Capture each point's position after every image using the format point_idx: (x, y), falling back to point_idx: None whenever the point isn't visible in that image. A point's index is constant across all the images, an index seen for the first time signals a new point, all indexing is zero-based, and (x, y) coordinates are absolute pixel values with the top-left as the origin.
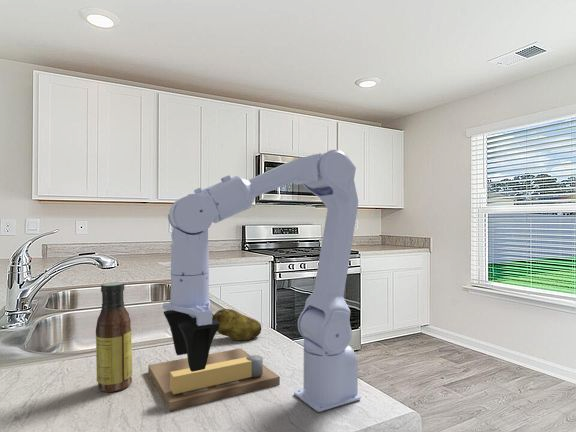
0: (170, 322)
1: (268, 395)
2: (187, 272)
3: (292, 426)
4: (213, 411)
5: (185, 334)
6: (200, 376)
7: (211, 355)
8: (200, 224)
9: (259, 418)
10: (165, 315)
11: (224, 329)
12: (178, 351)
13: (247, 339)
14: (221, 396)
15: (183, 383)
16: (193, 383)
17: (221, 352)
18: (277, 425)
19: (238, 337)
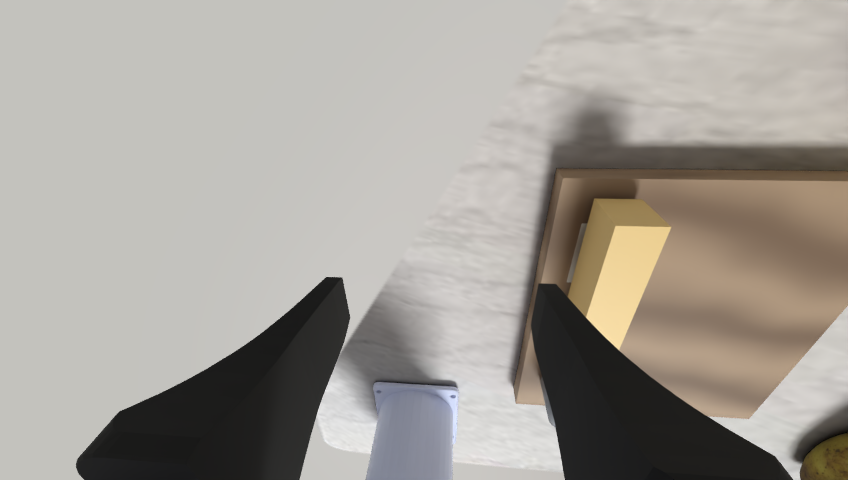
0: (611, 417)
1: (483, 356)
2: None
3: (354, 337)
4: (486, 254)
5: (138, 405)
6: (585, 290)
7: (783, 357)
8: None
9: (406, 311)
10: (710, 460)
11: None
12: (541, 298)
13: (814, 448)
14: (534, 291)
15: (596, 239)
16: (586, 262)
17: (775, 381)
18: (368, 322)
19: (839, 444)
